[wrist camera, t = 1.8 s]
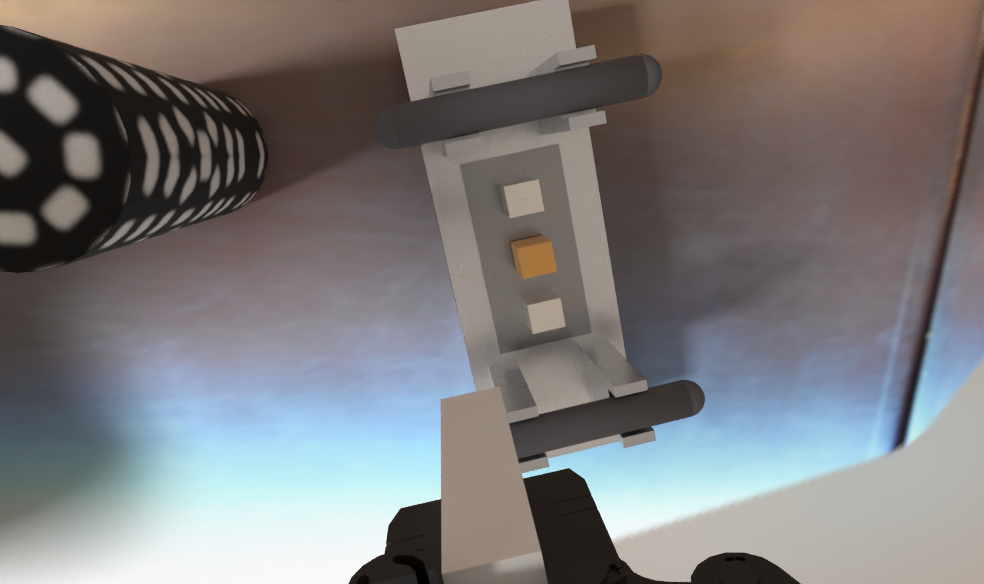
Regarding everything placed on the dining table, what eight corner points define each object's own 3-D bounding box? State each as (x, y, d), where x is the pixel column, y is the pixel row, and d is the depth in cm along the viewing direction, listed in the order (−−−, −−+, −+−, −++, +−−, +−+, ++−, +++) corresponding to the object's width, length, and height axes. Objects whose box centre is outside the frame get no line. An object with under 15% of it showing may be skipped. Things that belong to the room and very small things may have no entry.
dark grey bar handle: (455, 462, 34) (457, 480, 32) (447, 429, 34) (449, 446, 32) (697, 403, 35) (713, 418, 33) (692, 370, 35) (708, 384, 33)
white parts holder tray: (485, 432, 47) (510, 538, 34) (398, 46, 41) (387, -4, 28) (612, 401, 48) (683, 494, 35) (546, 17, 41) (604, -46, 28)
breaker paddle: (516, 270, 38) (523, 279, 35) (510, 242, 38) (517, 248, 35) (547, 263, 38) (557, 271, 36) (542, 235, 38) (551, 241, 35)
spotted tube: (294, 155, 41) (182, 158, 22) (207, 242, 42) (23, 319, 22) (195, 57, 39) (-23, -35, 20) (106, 149, 40) (-191, 146, 21)
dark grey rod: (380, 153, 30) (377, 153, 28) (370, 111, 30) (367, 108, 28) (655, 95, 31) (671, 91, 29) (650, 53, 31) (665, 47, 29)
